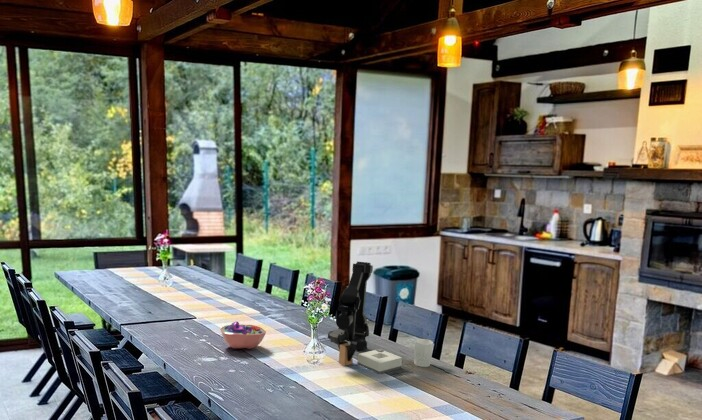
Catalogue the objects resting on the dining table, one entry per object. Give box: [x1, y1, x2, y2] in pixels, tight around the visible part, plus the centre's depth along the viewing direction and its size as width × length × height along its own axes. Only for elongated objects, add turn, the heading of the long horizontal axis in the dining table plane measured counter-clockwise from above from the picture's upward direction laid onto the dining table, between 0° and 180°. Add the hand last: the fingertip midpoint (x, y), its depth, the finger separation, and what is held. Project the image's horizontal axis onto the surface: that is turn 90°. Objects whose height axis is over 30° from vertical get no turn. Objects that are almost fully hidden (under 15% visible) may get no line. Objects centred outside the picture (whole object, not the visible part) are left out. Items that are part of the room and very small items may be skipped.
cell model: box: [219, 321, 267, 350], centre depth 239 cm, size 17×20×11 cm
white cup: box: [413, 338, 434, 368], centre depth 234 cm, size 8×8×10 cm
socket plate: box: [357, 348, 403, 375], centre depth 228 cm, size 13×13×5 cm
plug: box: [338, 342, 354, 367], centre depth 228 cm, size 4×4×8 cm
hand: (345, 359), depth 228 cm, fingers closed on plug, 3 cm apart
